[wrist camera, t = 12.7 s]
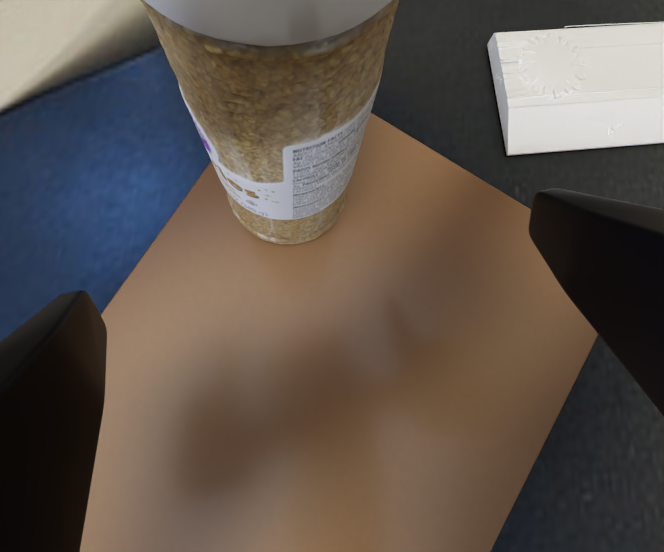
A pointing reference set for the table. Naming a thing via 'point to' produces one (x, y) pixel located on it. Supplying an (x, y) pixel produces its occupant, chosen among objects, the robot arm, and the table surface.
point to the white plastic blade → (579, 87)
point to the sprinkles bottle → (278, 99)
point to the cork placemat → (333, 371)
